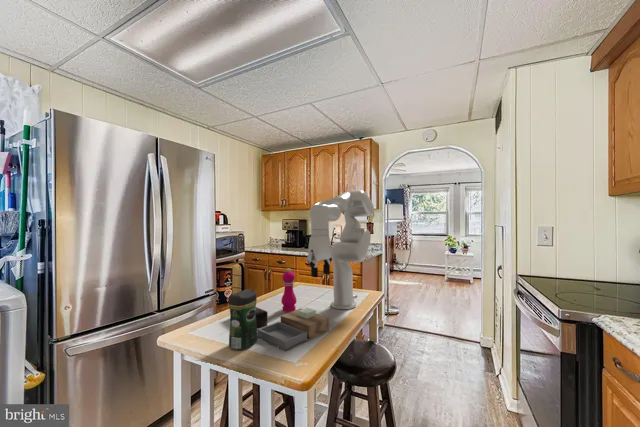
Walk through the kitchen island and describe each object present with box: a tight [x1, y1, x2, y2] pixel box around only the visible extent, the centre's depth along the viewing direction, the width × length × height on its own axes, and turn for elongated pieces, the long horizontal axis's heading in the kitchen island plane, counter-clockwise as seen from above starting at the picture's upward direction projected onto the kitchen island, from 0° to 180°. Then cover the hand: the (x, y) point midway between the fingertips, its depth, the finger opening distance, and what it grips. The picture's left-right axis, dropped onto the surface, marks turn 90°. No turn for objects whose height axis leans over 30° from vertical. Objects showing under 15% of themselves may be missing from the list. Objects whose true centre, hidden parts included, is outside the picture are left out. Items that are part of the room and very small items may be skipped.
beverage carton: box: [256, 306, 268, 329], centre depth 114 cm, size 8×19×7 cm, turn 43°
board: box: [280, 308, 330, 341], centre depth 106 cm, size 11×16×5 cm
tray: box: [257, 321, 308, 352], centre depth 97 cm, size 10×16×3 cm, turn 47°
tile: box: [298, 307, 317, 319], centre depth 107 cm, size 5×5×2 cm
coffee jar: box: [227, 288, 259, 351], centre depth 94 cm, size 10×8×19 cm
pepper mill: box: [280, 267, 297, 313], centre depth 129 cm, size 7×7×20 cm
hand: (320, 275), depth 113 cm, fingers open, 6 cm apart
